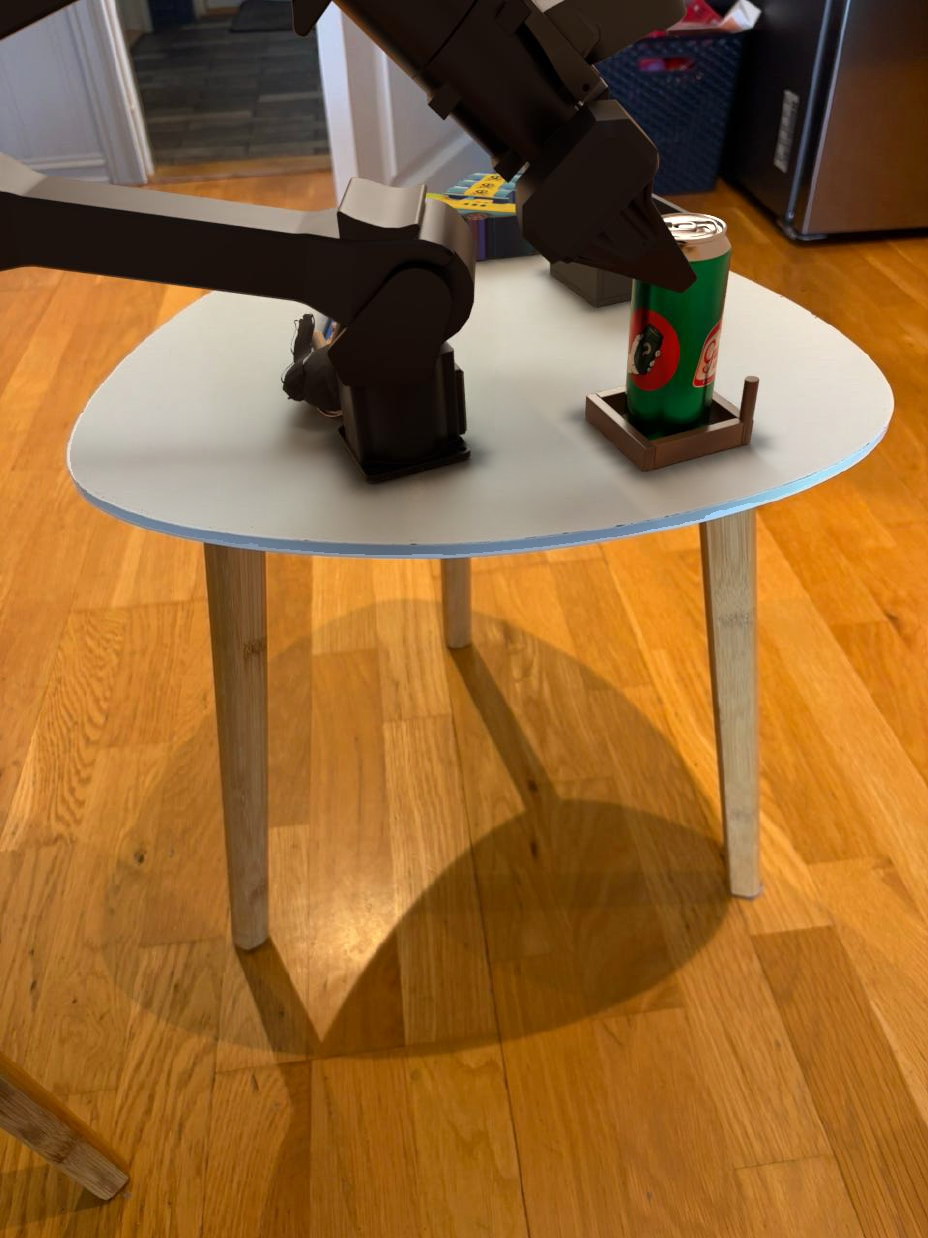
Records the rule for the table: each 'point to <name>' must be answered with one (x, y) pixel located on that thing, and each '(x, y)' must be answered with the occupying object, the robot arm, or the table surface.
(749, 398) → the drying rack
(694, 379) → the soda can
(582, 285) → the open-top storage bin
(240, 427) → the table surface
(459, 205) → the toy
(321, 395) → the toy figure
